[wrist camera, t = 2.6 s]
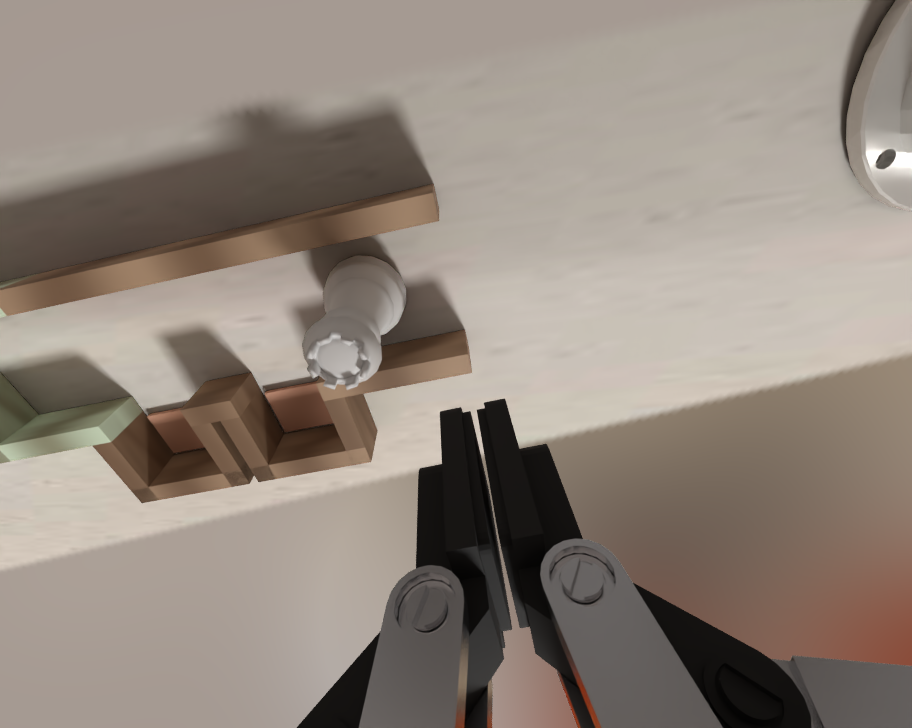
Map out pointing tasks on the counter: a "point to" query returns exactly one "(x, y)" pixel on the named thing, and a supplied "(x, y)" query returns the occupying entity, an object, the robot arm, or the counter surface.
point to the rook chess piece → (354, 321)
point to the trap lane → (232, 398)
